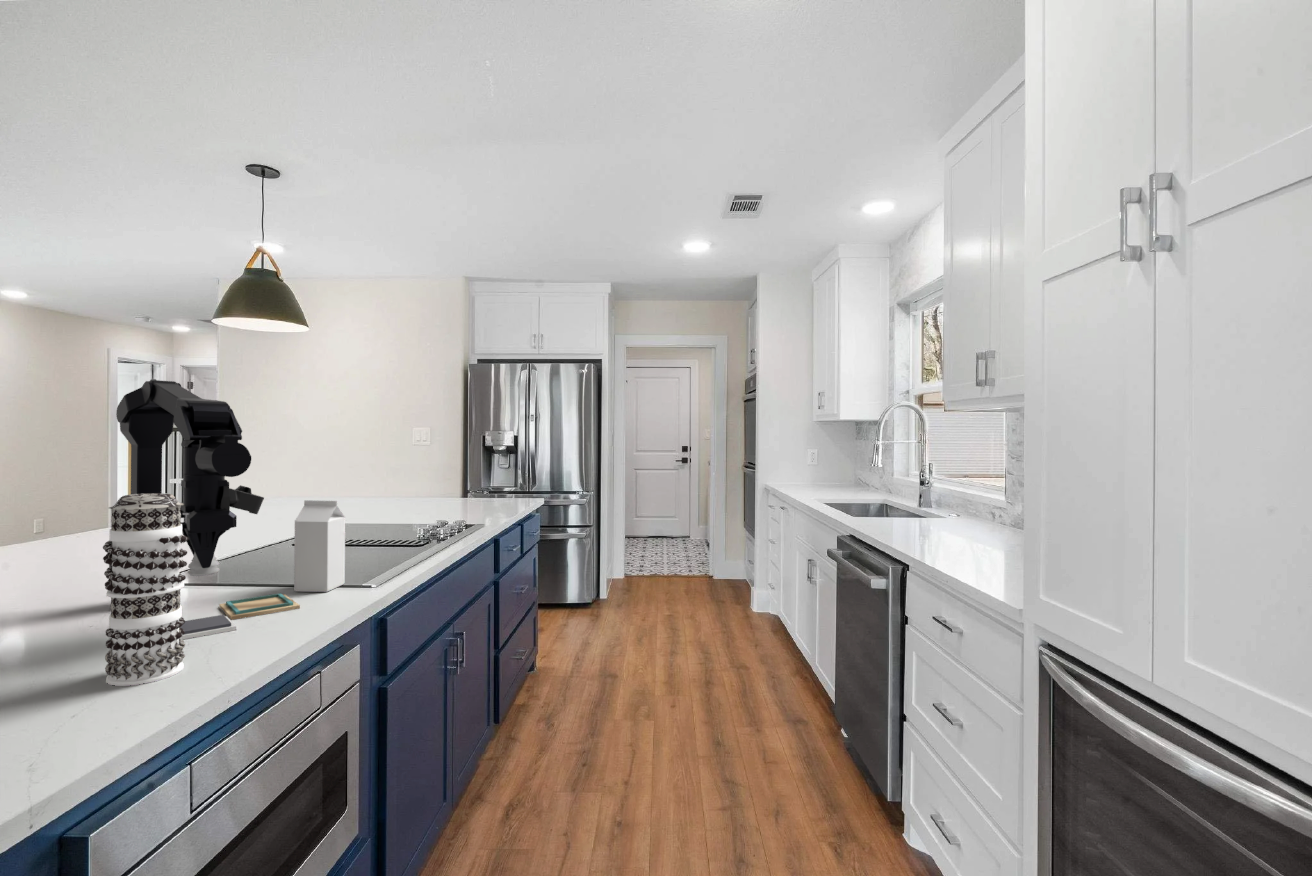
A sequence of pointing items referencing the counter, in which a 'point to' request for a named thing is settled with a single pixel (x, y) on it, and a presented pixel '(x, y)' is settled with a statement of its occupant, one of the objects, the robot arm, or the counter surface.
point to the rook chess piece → (199, 571)
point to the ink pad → (207, 626)
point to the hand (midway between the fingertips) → (203, 565)
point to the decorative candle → (144, 589)
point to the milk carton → (319, 547)
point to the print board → (258, 606)
